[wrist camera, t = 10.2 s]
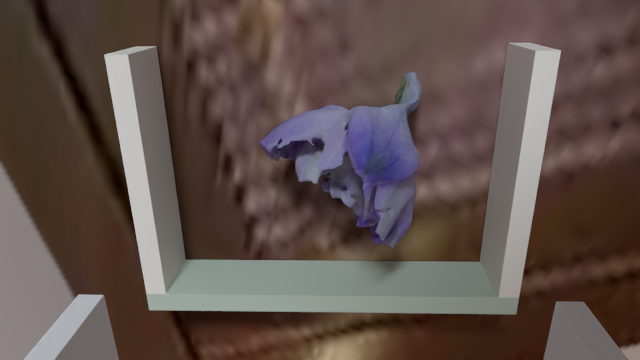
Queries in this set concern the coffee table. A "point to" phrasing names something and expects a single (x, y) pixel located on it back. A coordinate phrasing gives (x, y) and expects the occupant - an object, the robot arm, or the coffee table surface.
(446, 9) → the coffee table surface
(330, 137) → the flower
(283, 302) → the bay
